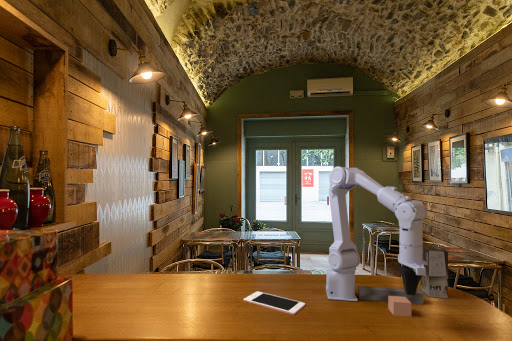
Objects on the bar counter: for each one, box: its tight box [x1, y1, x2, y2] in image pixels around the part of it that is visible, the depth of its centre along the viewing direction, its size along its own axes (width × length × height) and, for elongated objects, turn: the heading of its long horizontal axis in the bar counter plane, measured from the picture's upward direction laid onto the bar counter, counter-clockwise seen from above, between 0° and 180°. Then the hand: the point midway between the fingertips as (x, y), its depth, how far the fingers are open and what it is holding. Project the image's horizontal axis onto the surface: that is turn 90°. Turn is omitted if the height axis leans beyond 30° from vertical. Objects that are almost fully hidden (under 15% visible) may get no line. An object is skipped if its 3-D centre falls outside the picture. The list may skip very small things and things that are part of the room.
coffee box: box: [419, 245, 449, 299], centre depth 109 cm, size 9×6×16 cm
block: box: [387, 296, 412, 317], centre depth 91 cm, size 5×5×4 cm
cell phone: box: [242, 290, 306, 316], centre depth 96 cm, size 9×18×1 cm, turn 58°
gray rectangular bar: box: [357, 285, 424, 305], centre depth 101 cm, size 20×3×4 cm, turn 83°
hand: (410, 294), depth 83 cm, fingers closed
